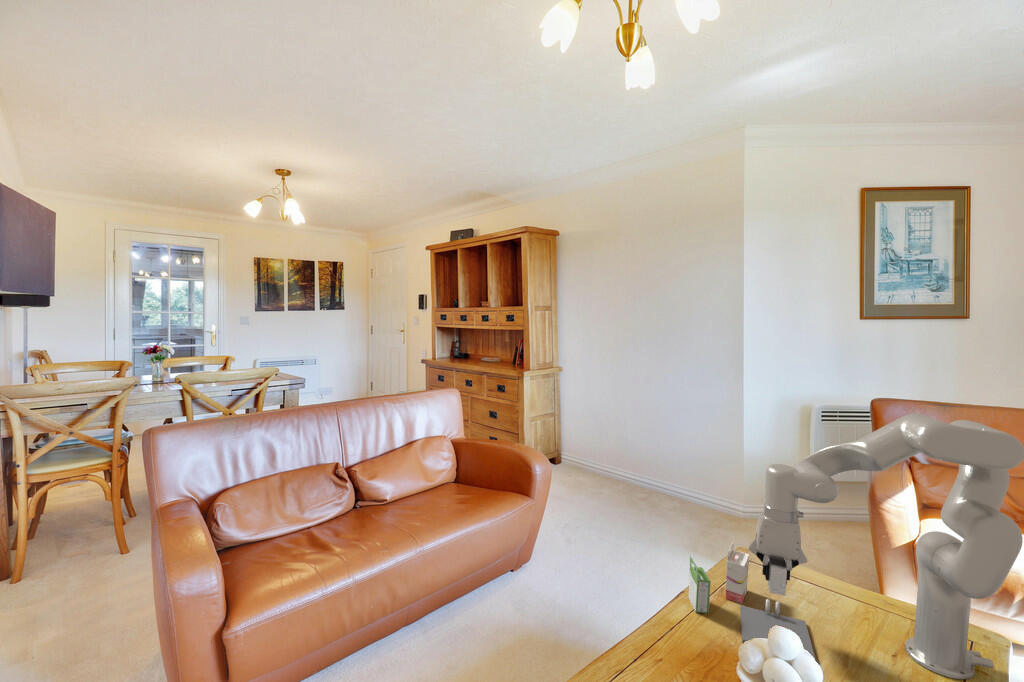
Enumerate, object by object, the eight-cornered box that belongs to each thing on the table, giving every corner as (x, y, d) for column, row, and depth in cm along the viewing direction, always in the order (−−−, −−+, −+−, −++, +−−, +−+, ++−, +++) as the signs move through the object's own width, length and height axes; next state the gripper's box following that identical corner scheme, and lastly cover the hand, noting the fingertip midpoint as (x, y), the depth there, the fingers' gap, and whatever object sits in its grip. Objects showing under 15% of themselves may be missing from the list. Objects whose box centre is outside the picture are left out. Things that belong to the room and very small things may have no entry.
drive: (780, 575, 127) (782, 550, 126) (785, 596, 118) (787, 569, 117) (765, 572, 128) (767, 547, 128) (769, 592, 119) (771, 566, 119)
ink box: (709, 614, 132) (711, 568, 131) (695, 613, 132) (696, 568, 131) (701, 598, 139) (703, 555, 138) (688, 597, 139) (689, 555, 138)
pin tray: (804, 624, 128) (805, 606, 127) (815, 662, 114) (816, 643, 114) (740, 608, 134) (740, 592, 134) (742, 643, 120) (743, 624, 120)
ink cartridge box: (743, 605, 136) (745, 556, 135) (724, 598, 139) (726, 551, 138) (748, 590, 143) (750, 544, 142) (730, 584, 146) (732, 539, 145)
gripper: (814, 513, 122) (809, 580, 123) (744, 501, 128) (740, 565, 130) (820, 525, 115) (814, 596, 116) (745, 512, 121) (741, 579, 123)
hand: (775, 579), depth 123 cm, fingers closed on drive, 3 cm apart
